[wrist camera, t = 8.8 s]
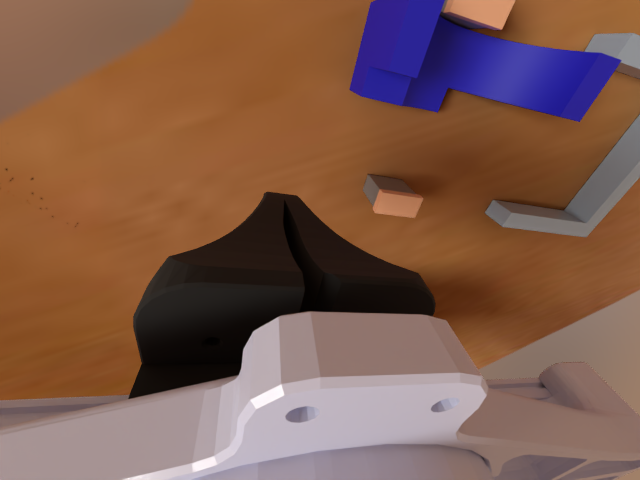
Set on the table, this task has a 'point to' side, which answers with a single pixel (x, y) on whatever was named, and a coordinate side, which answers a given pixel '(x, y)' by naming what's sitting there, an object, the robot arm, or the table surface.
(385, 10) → the blue stepped bar
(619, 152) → the grey bent bracket
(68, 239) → the table surface
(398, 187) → the posts
